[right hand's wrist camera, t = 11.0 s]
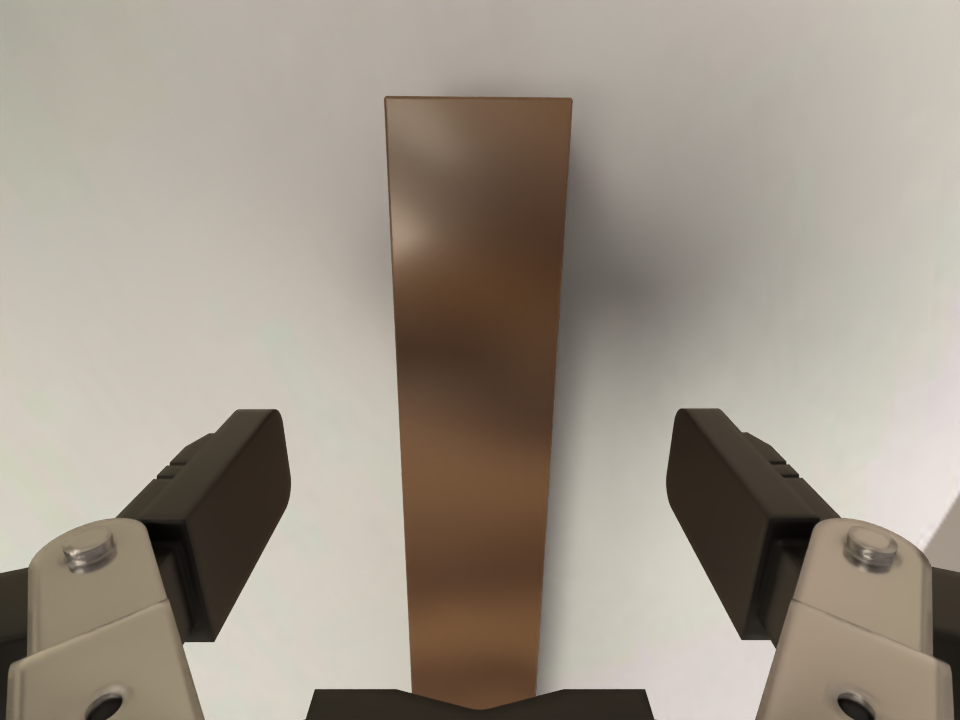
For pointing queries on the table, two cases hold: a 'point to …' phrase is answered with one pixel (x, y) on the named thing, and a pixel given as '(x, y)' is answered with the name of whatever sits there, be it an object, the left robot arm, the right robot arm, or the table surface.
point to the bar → (476, 378)
